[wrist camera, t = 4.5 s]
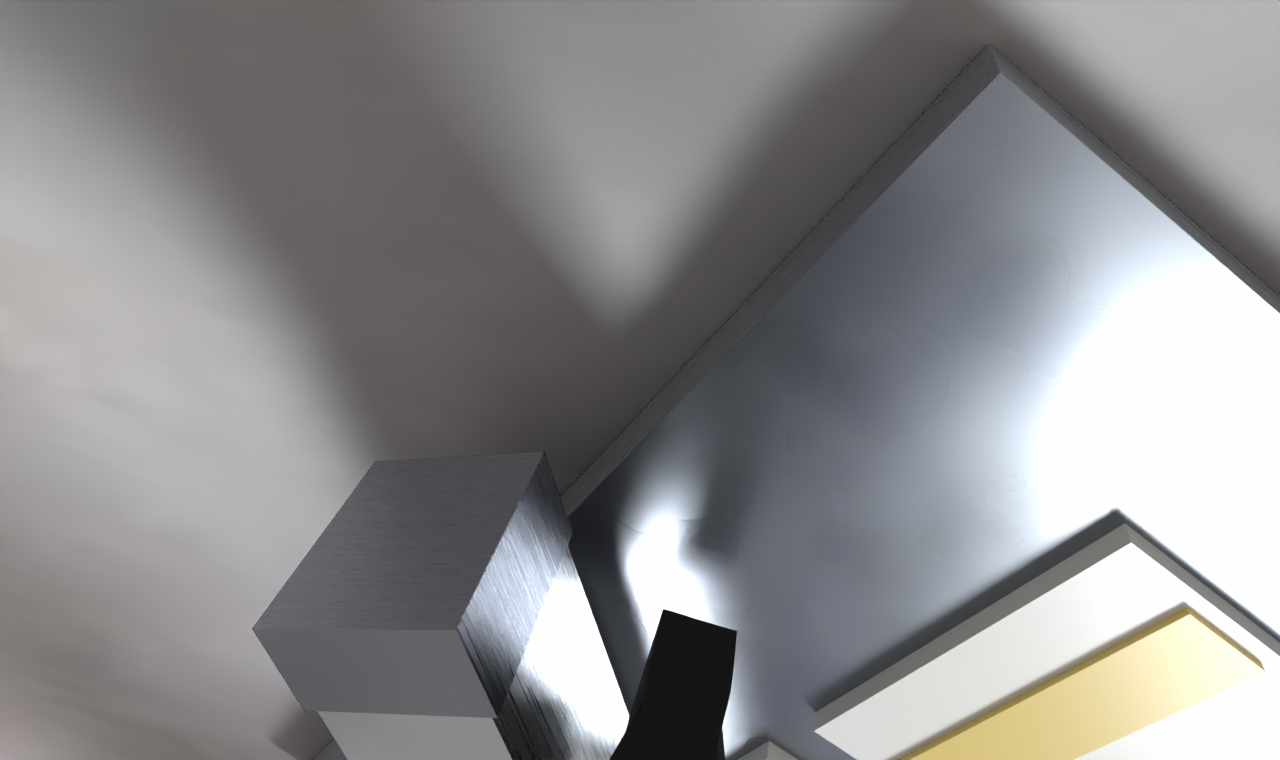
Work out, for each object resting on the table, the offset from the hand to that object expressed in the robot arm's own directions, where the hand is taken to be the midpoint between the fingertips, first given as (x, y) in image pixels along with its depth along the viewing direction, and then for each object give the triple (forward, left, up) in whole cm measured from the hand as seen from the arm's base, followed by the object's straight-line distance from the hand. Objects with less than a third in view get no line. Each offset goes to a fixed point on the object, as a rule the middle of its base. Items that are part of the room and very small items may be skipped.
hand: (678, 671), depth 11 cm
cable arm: (-5, -2, -1) cm, 5 cm away
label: (+2, -7, -1) cm, 7 cm away
